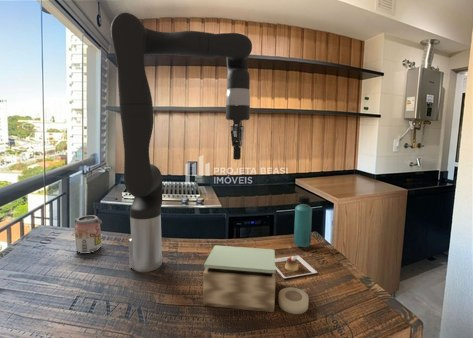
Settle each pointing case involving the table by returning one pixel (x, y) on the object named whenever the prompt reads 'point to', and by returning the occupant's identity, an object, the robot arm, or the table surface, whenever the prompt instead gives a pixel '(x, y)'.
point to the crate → (239, 289)
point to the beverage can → (88, 233)
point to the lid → (241, 259)
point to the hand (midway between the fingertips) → (237, 159)
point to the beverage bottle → (303, 223)
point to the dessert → (294, 265)
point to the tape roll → (293, 300)
